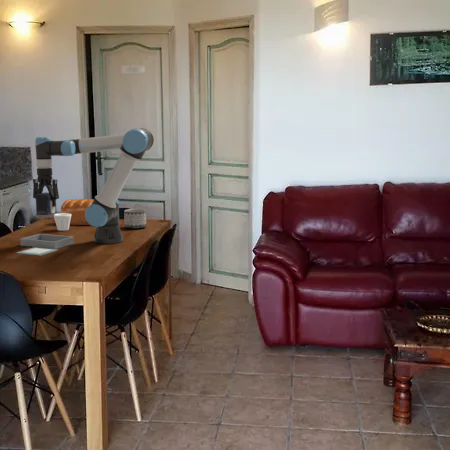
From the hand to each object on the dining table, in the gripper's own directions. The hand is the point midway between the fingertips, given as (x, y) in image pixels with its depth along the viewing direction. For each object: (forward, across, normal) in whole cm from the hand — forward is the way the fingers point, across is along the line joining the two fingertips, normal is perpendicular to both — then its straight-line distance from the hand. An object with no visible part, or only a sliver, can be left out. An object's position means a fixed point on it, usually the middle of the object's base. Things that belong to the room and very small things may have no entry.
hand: (46, 212), depth 336 cm
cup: (+17, +18, -38) cm, 45 cm away
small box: (+1, 0, 0) cm, 1 cm away
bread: (+17, +22, -62) cm, 68 cm away
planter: (+17, -16, -62) cm, 66 cm away
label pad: (+17, -6, +17) cm, 25 cm away
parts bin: (+17, 0, 0) cm, 17 cm away
